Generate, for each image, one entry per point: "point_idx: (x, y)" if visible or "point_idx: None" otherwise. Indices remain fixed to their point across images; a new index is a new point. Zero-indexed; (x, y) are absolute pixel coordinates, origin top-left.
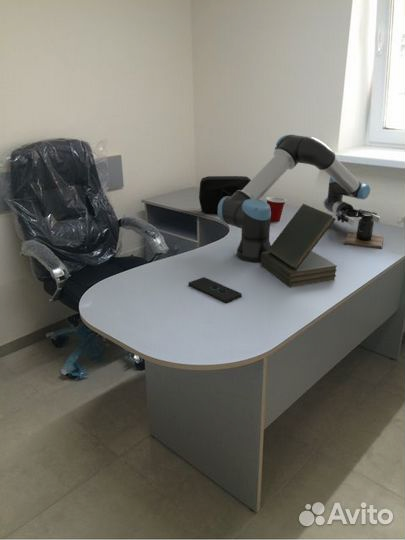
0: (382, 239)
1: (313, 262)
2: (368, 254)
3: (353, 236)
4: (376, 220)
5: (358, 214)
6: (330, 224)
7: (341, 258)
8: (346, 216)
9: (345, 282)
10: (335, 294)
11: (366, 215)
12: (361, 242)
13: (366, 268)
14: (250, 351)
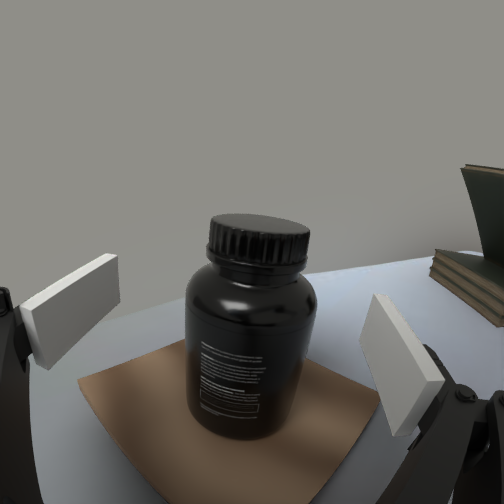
0: (138, 357)
1: (470, 260)
2: (319, 314)
3: (274, 464)
4: (104, 300)
5: (28, 500)
6: (465, 179)
7: (413, 317)
8: (431, 360)
9: (412, 269)
10: (426, 262)
11: (291, 221)
12: None
13: (363, 279)
14: (473, 252)
